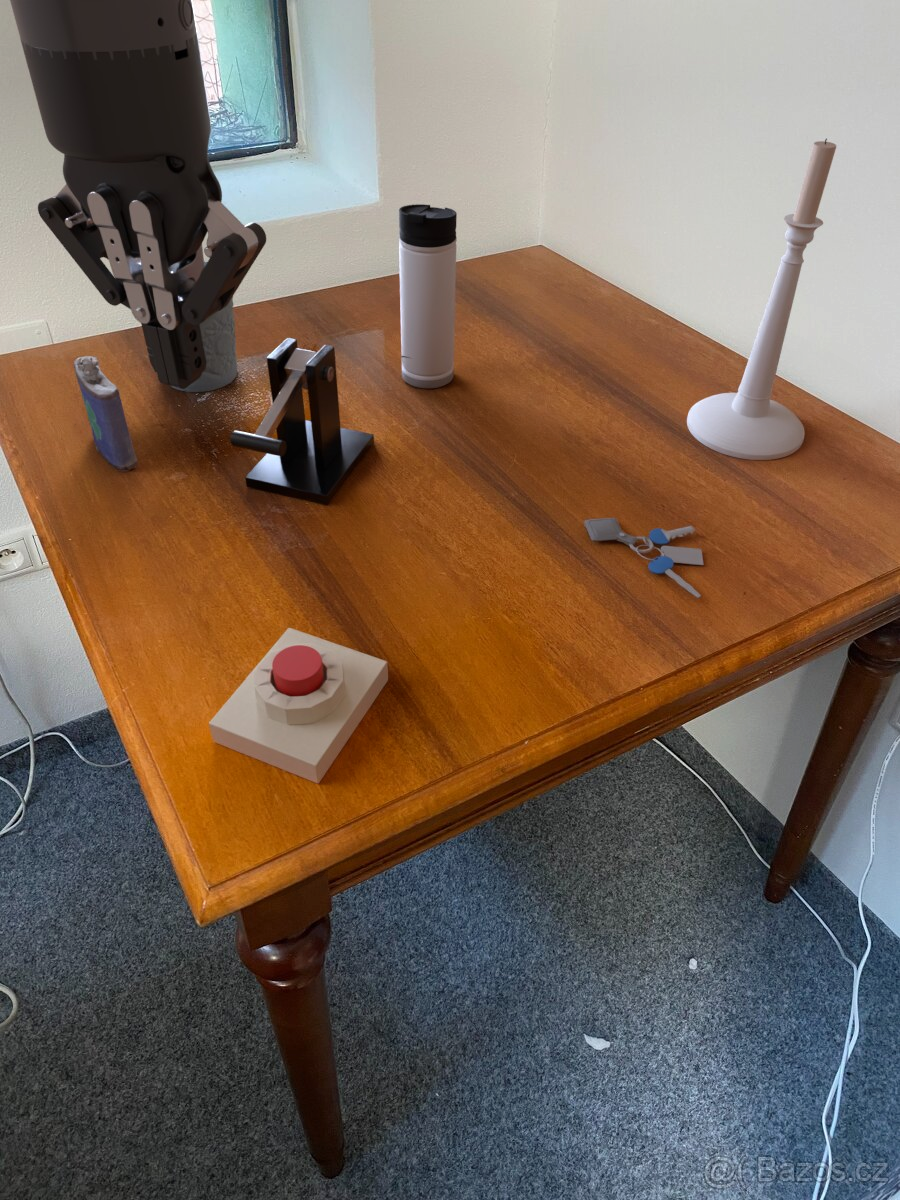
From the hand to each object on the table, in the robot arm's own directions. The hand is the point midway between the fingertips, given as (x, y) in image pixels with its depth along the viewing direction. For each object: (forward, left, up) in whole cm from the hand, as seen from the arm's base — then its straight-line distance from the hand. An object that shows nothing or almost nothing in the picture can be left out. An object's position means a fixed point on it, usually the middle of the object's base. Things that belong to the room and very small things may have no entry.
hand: (182, 380), depth 50 cm
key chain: (+40, -3, -27) cm, 48 cm away
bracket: (+18, +26, -27) cm, 42 cm away
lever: (+15, +23, -18) cm, 33 cm away
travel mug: (+38, +36, -27) cm, 59 cm away
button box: (+3, -4, -27) cm, 27 cm away
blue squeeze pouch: (+1, +39, -27) cm, 48 cm away
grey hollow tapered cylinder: (+15, +50, -27) cm, 59 cm away
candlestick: (+63, +8, -27) cm, 69 cm away
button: (+3, -4, -23) cm, 24 cm away
